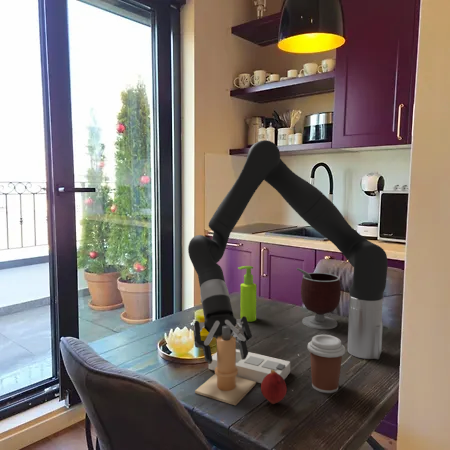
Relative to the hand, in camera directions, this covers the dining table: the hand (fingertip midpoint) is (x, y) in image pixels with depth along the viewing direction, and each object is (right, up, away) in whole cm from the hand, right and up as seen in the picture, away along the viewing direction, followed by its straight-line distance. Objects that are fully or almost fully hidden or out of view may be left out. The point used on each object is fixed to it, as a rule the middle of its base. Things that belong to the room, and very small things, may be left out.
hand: (227, 360), depth 94 cm
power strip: (+6, -7, +11) cm, 14 cm away
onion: (+10, -9, -4) cm, 14 cm away
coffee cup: (+24, -8, +3) cm, 26 cm away
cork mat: (0, -8, +2) cm, 8 cm away
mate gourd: (+33, -3, +47) cm, 58 cm away
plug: (0, -7, +2) cm, 7 cm away
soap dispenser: (+8, -3, +51) cm, 52 cm away
